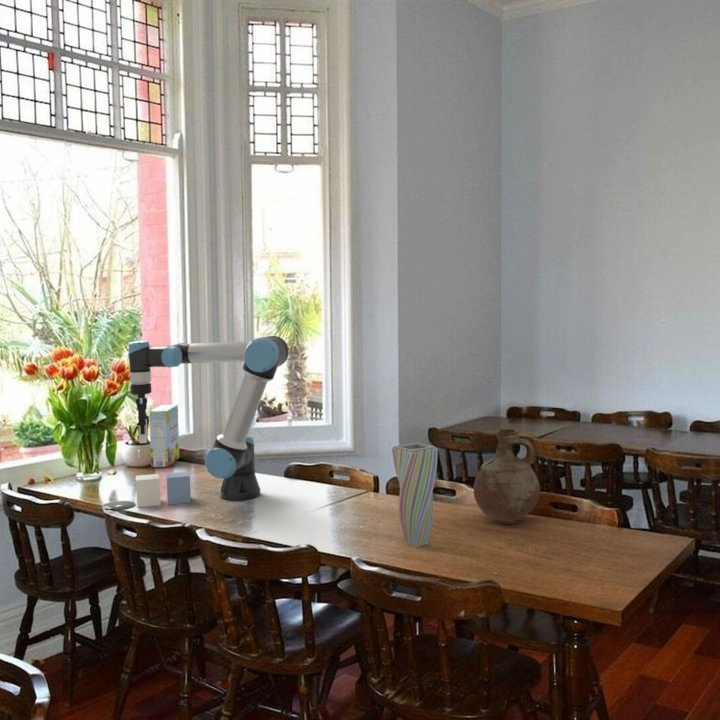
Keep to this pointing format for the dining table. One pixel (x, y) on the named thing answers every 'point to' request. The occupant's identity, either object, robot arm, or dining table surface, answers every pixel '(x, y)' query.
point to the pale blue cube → (178, 487)
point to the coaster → (121, 505)
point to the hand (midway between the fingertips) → (143, 439)
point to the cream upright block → (148, 490)
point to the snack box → (164, 435)
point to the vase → (415, 489)
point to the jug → (507, 481)
